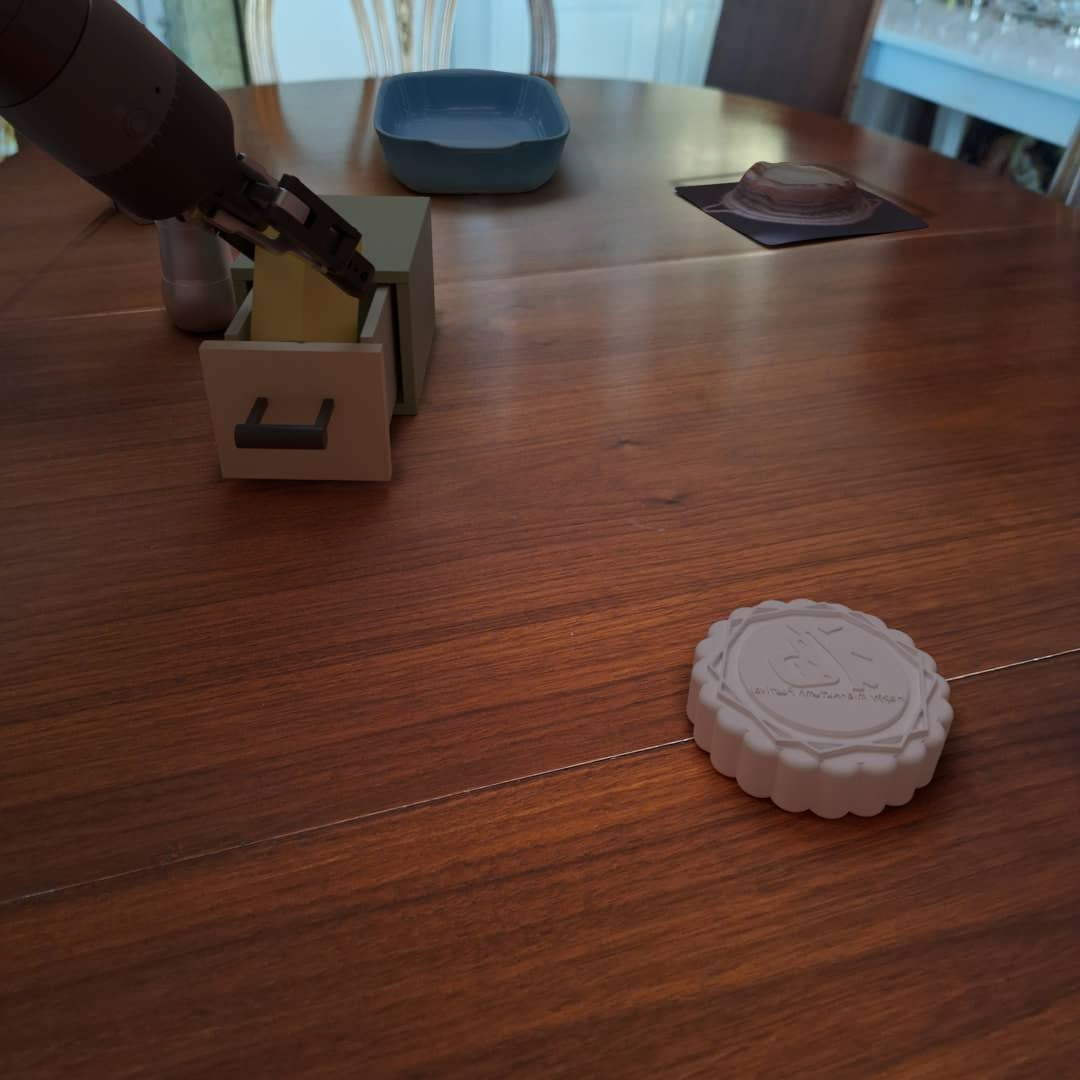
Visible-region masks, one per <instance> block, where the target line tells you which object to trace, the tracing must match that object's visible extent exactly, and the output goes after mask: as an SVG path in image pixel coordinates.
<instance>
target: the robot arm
mask: <svg viewBox="0 0 1080 1080" xmlns="http://www.w3.org/2000/svg"><path fill="white" fill-rule="evenodd" d="M141 23H142V22H141V21H140V20H138V18H136V17H135V16H134V15H133V14H132V13H131V12H130V11H128V10H127V8H124V6H122V5H121V4H120V3H119V2H117V1H116V0H0V117H1V118H2V119H3V120H4V121H5V122H6V123H8V125H9V126H10V127H12V128H13V129H14V130H15V131H17V133H18V134H20V135H21V136H22V137H23V138H24V139H25V140H27V141H28V142H30V144H32V145H34V146H35V147H36V148H38V149H39V150H41V151H42V152H43V153H45V154H46V155H48V156H49V157H50V158H52V159H53V160H55V161H56V162H58V163H59V164H61V165H62V166H64V167H65V168H67V170H69V171H71V172H72V173H73V174H75V175H76V176H77V177H79V178H81V179H82V180H84V181H85V182H86V183H88V184H89V185H90V186H92V187H93V188H95V189H96V190H98V191H100V192H101V193H102V194H103V195H105V196H107V197H108V198H110V199H111V200H112V201H113V202H114V201H115V202H117V203H118V204H119V205H121V206H122V207H124V208H125V209H127V210H128V211H129V212H131V213H132V214H134V215H136V216H138V217H140V218H143V219H147V220H165V219H169V218H173V217H176V219H177V220H178V221H180V222H182V223H184V222H186V223H188V224H192V225H194V226H195V227H197V228H199V229H201V230H202V231H203V232H205V233H207V234H209V235H210V234H212V235H215V236H216V235H217V233H218V232H219V234H218V236H219V237H221V238H222V239H223V240H225V241H226V242H227V243H229V245H230V247H232V248H234V249H235V250H237V251H238V252H239V253H240V252H241V253H242V254H243V255H245V256H246V257H247V258H249V259H250V260H251V261H253V262H254V258H255V245H257V246H259V247H261V248H262V249H264V250H266V251H267V252H269V253H271V254H273V255H274V256H277V257H280V256H283V255H285V254H290V255H292V256H294V257H295V258H297V259H299V260H301V261H302V262H304V263H306V264H307V265H309V266H311V268H312V269H313V270H315V271H316V272H320V273H321V274H322V275H324V276H325V277H326V278H327V279H329V280H330V281H331V282H332V283H334V284H335V285H336V286H337V287H339V288H340V289H341V290H342V291H344V292H345V293H346V294H347V295H349V296H352V297H355V298H357V299H360V298H362V297H363V296H364V295H365V293H366V291H367V289H368V287H369V285H370V283H371V281H372V279H373V277H374V275H375V267H374V265H373V264H371V263H370V262H369V261H368V260H367V259H366V258H365V257H364V256H362V255H361V254H360V253H359V252H358V251H357V250H356V248H357V246H358V244H359V242H360V240H361V238H362V234H361V233H360V232H358V230H357V229H356V228H355V227H353V226H352V225H350V224H349V223H348V222H347V221H346V220H345V219H343V218H342V217H341V216H340V215H339V214H338V213H337V212H335V211H334V210H333V209H332V208H331V207H330V206H328V205H327V204H326V203H325V202H324V201H323V200H322V199H320V198H319V197H318V196H317V195H318V194H316V193H315V192H313V191H312V190H311V189H310V187H308V186H307V185H305V184H304V183H303V182H302V181H301V179H299V177H297V176H295V175H292V174H288V173H283V174H282V176H281V177H280V180H279V179H277V178H275V177H274V176H272V175H270V174H269V173H268V172H267V170H266V168H265V167H264V165H262V164H261V163H260V162H258V161H256V160H255V159H253V158H251V157H250V156H249V155H246V154H245V153H242V152H240V151H236V146H235V124H234V118H233V115H232V112H231V110H230V107H229V105H228V104H227V102H226V101H225V100H224V98H223V97H222V96H221V95H220V94H219V93H218V92H217V91H215V90H214V89H213V88H212V86H210V85H209V84H208V83H207V82H206V81H205V80H204V79H202V77H200V76H199V74H197V73H196V72H195V71H194V70H193V69H192V68H191V67H190V66H189V65H187V64H186V63H185V61H183V60H182V59H181V58H179V56H178V55H177V54H176V53H174V52H173V51H172V50H171V49H170V48H169V47H168V46H167V45H165V43H164V42H162V41H161V40H160V39H159V38H158V37H157V36H156V35H155V34H154V33H153V32H152V31H151V30H150V29H148V28H147V27H146V25H145V24H144V23H142V24H141ZM143 24H144V25H145V26H144V25H143ZM269 225H270V226H271V227H272V229H274V230H275V231H277V232H280V233H279V235H278V237H277V238H270V237H268V236H266V235H264V234H263V233H262V232H264V231H265V230H266V229H267V228H268V227H269Z"/></svg>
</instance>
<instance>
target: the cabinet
mask: <svg viewBox="0 0 1080 1080" xmlns="http://www.w3.org/2000/svg"><path fill="white" fill-rule="evenodd" d="M316 195H317V196H318V197H319V198H320V199H322V200H323V201H324V202H325V203H326V204H327V205H328V206H330V207H331V208H332V209H333V210H334V211H335V212H337V213H338V214H339V215H340V216H341V217H342V218H343V219H345V220H346V221H347V222H348V223H349V224H350V225H352V226H353V227H355V228H356V229H357V230H358V232H360V233H361V234H362V250H361V255H362V256H364V257H365V258H366V259H367V260H368V261H369V262H370V263H371V264H373V265H374V267H375V275H374V277H373V279H372V281H371V283H396V291H397V306H398V322H399V337H400V353H401V368H402V377H401V381H400V385H399V389H398V393H397V397H396V401H395V405H394V409H393V413H392V416H417V415H418V411H419V406H420V402H421V397H422V392H423V388H424V383H425V377H426V373H427V367H428V364H429V359H430V354H431V349H432V344H433V340H434V335H435V331H436V325H437V322H436V321H437V320H436V300H435V299H436V297H435V277H434V254H433V249H434V248H433V229H432V209H431V207H432V205H431V204H432V203H431V197H430V196H406V195H405V196H403V195H402V196H401V195H400V196H398V195H357V194H356V195H352V194H351V195H350V194H349V195H348V194H347V195H346V194H316ZM233 262H234V263H233V264H232V266H231V267H230V271H231V277H232V284H233V290H234V296H235V302H236V308H237V312H238V311H239V309H240V307H241V306H242V304H243V302H244V301H245V299H246V297H247V296H248V294H249V292H250V291H251V289H252V287H253V278H254V262H253V261H251V260H250V259H249V258H247V257H246V256H245V255H243V254H242V253H241V252H239V254H238V255H237V257H236V258H235V260H233Z"/></svg>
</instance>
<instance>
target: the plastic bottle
mask: <svg viewBox="0 0 1080 1080" xmlns="http://www.w3.org/2000/svg"><path fill="white" fill-rule="evenodd" d="M154 224H155V229H156V233H157V240H158V251H159V258H160V267H161V281H160V282H161V283H160V284H161V287H160V288H161V298H162V299H161V300H162V303H163V306H164V308H165V311H166V313H167V316H168V318H169V319H170V320H171V321H172V322H173V323H174V324H175V325H176V326H177V327H178V328H179V329H181V330H184V331H187V332H194V333H207V332H215V331H216V332H217V331H221V330H224V329H228V327H229V326H230V324H231V322H232V321H233V319H234V317H235V316H236V314H237V308H236V302H235V296H234V290H233V284H232V277H231V271H230V267H231V266H232V264H233V263H234V258H233V254H232V250H231V245H230V244H229V243H227V242H226V241H225V240H223V239H222V238H221V237H219V236H218V234H219V232H218V233H217V235H216V236H215V235H212V234H210V235H209V234H207V233H205V232H203V231H202V230H201V229H199V228H197V227H195V226H194V225H192V224H188V223H186V222H184V223H182V222H180V221H178V220H177V219H176V217H173V218H169V219H165V220H155V222H154Z"/></svg>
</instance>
